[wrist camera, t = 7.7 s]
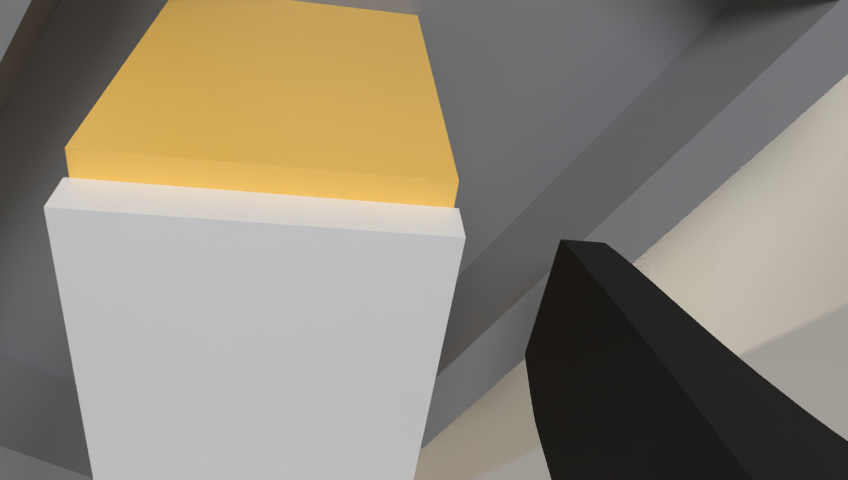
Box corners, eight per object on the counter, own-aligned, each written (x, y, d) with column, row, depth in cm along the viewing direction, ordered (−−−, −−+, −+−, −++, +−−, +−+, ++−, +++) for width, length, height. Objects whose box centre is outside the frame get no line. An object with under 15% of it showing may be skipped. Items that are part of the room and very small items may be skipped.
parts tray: (839, -59, 11) (948, -16, 9) (286, 478, 18) (278, 574, 16) (310, -708, 7) (295, -887, 5) (-161, 301, 14) (-252, 400, 12)
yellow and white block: (420, 15, 11) (471, 209, 6) (383, 275, 14) (401, 539, 9) (174, -14, 10) (37, 175, 6) (188, 263, 13) (104, 536, 9)
